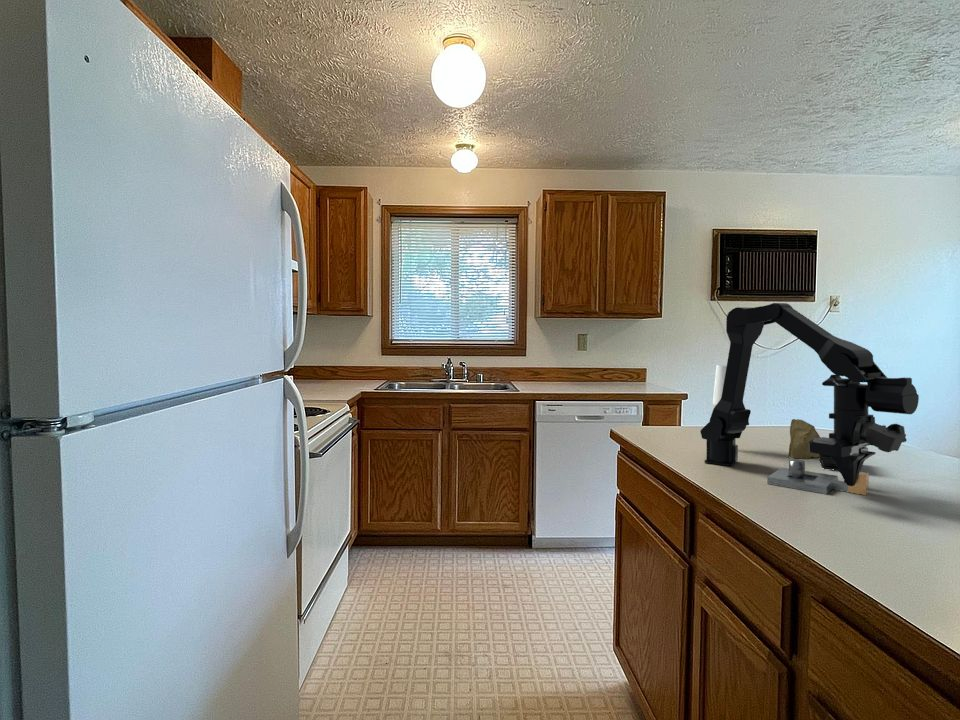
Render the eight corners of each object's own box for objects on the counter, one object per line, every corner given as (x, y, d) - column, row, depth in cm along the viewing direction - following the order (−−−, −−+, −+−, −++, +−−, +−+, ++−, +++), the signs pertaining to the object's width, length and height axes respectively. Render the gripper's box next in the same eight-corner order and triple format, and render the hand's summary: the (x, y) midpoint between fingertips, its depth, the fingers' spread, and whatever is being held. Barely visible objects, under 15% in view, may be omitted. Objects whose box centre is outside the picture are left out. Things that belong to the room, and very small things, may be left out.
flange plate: (767, 483, 113) (767, 465, 113) (781, 473, 121) (782, 456, 121) (862, 500, 101) (862, 480, 101) (871, 488, 109) (872, 469, 109)
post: (787, 483, 113) (788, 461, 113) (789, 480, 115) (790, 458, 115) (803, 486, 111) (804, 463, 111) (805, 482, 113) (805, 460, 113)
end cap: (859, 473, 120) (859, 444, 120) (822, 470, 124) (823, 442, 123) (852, 463, 129) (853, 437, 129) (819, 460, 133) (819, 434, 132)
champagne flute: (741, 448, 148) (741, 365, 146) (734, 452, 143) (734, 366, 141) (716, 445, 152) (716, 364, 151) (708, 449, 147) (709, 365, 146)
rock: (827, 444, 141) (785, 436, 145) (835, 423, 135) (792, 416, 139) (829, 475, 134) (785, 466, 138) (838, 454, 128) (792, 446, 132)
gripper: (869, 417, 93) (868, 502, 93) (923, 410, 101) (922, 489, 101) (806, 410, 103) (806, 488, 103) (860, 405, 111) (860, 476, 111)
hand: (850, 485), depth 104 cm, fingers closed
